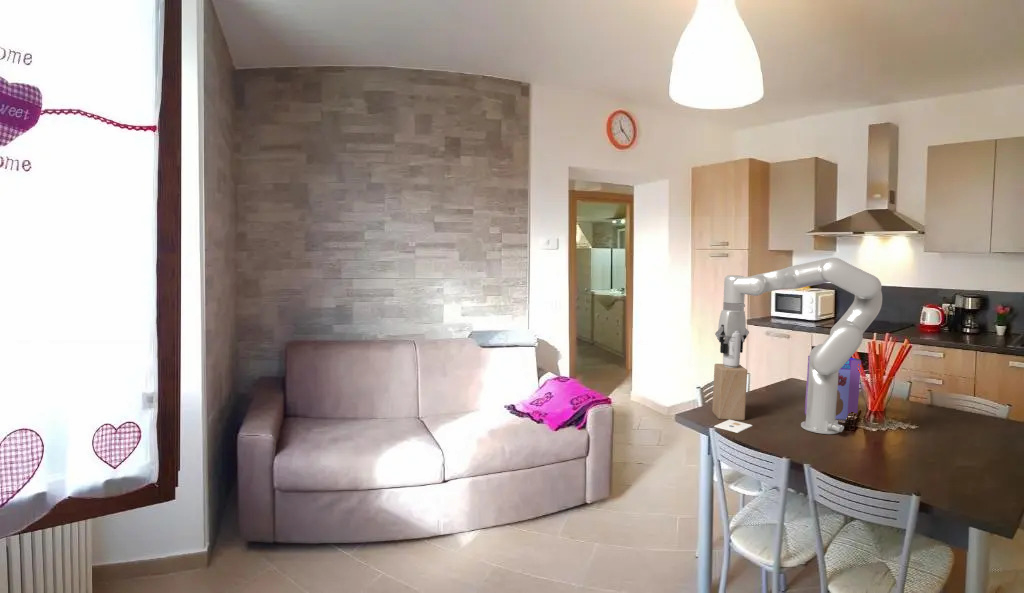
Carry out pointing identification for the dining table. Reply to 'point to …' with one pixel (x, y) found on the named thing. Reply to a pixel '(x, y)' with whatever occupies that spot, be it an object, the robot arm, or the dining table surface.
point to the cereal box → (845, 388)
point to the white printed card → (733, 426)
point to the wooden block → (729, 392)
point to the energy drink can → (733, 351)
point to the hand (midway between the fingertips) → (731, 352)
